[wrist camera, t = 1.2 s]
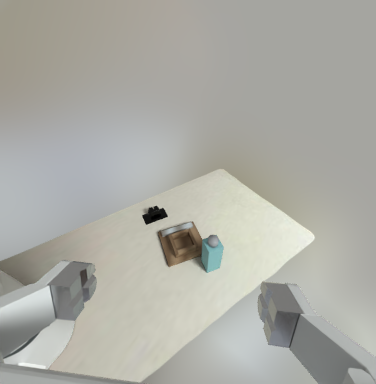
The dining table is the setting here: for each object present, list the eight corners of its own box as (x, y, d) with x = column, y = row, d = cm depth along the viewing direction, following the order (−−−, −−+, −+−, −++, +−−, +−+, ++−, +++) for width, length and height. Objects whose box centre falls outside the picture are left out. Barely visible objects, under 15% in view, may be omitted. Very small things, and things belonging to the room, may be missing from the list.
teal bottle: (207, 272, 60) (209, 248, 51) (201, 260, 63) (202, 235, 54) (219, 267, 61) (224, 243, 52) (213, 256, 64) (216, 230, 55)
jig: (168, 267, 61) (168, 261, 59) (158, 234, 71) (157, 227, 69) (207, 252, 65) (208, 246, 63) (192, 223, 75) (192, 217, 72)
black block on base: (166, 206, 83) (165, 199, 80) (172, 217, 78) (171, 210, 75) (138, 216, 79) (136, 208, 76) (143, 228, 74) (141, 221, 71)
